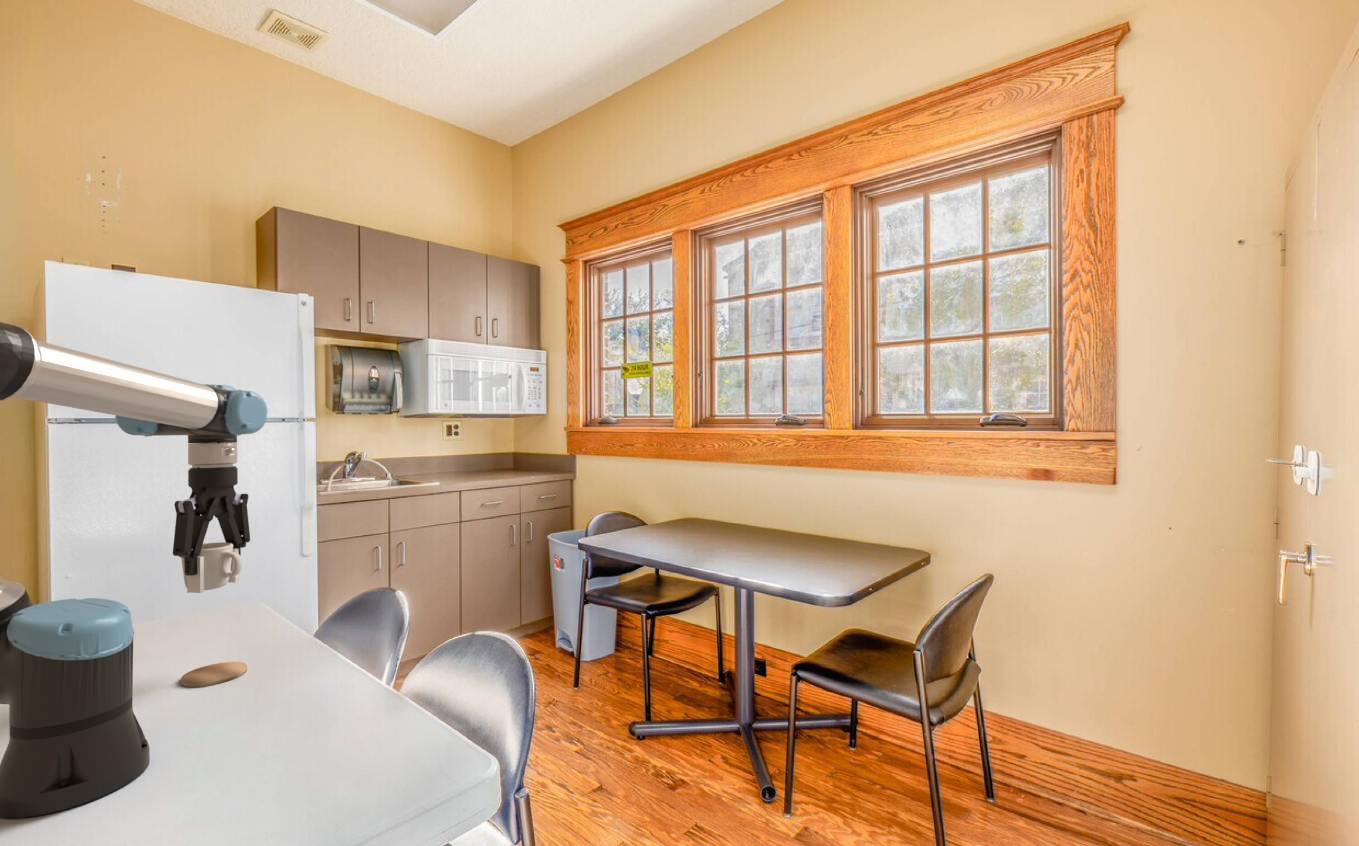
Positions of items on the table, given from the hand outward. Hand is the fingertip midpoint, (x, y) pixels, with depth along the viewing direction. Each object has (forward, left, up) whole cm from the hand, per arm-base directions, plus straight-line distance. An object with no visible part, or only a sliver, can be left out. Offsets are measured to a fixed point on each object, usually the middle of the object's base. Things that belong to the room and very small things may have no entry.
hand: (213, 586), depth 117 cm
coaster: (0, 0, -17) cm, 17 cm away
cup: (0, 0, -1) cm, 1 cm away
